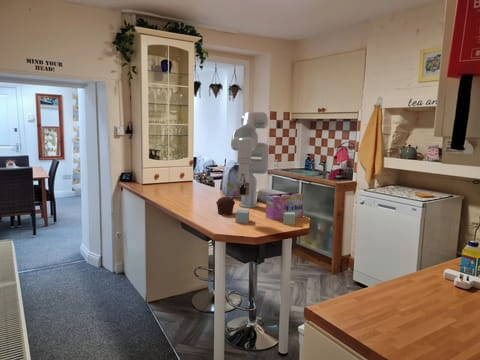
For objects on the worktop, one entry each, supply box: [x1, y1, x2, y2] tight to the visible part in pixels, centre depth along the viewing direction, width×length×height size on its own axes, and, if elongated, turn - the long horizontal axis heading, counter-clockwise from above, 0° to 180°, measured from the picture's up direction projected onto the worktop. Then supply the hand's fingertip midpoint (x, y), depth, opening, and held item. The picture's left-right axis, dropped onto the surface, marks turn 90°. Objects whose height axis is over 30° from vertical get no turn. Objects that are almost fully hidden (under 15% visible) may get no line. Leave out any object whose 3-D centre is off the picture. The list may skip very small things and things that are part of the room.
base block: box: [234, 209, 250, 224], centre depth 202 cm, size 7×7×6 cm
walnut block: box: [237, 183, 249, 196], centre depth 200 cm, size 6×6×6 cm
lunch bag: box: [221, 159, 242, 199], centre depth 274 cm, size 22×17×26 cm
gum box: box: [265, 191, 305, 221], centre depth 216 cm, size 24×8×14 cm, turn 121°
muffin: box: [215, 196, 236, 216], centre depth 219 cm, size 12×11×10 cm
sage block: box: [282, 211, 296, 226], centre depth 202 cm, size 6×6×6 cm
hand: (243, 193), depth 200 cm, fingers closed on walnut block, 6 cm apart
